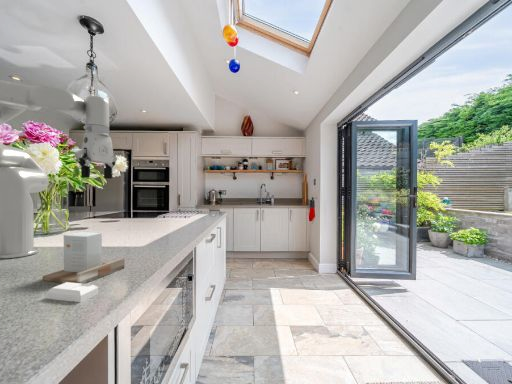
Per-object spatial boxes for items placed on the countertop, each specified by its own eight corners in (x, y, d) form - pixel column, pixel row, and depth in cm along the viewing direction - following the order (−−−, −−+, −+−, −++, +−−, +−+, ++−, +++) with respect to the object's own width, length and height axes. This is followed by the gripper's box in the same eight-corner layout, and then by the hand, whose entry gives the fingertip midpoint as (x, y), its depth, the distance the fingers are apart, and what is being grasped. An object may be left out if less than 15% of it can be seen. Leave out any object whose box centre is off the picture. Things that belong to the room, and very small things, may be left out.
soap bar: (65, 291, 64) (65, 280, 64) (98, 294, 62) (98, 283, 62) (46, 300, 59) (46, 288, 59) (80, 304, 58) (80, 292, 58)
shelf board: (42, 279, 70) (42, 268, 70) (91, 264, 85) (91, 254, 85) (80, 285, 67) (80, 274, 67) (124, 268, 81) (125, 258, 81)
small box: (102, 268, 78) (102, 232, 78) (86, 274, 73) (86, 236, 72) (80, 265, 80) (80, 231, 80) (63, 271, 74) (63, 234, 74)
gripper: (84, 125, 87) (84, 177, 87) (123, 135, 104) (123, 178, 104) (67, 126, 89) (67, 177, 89) (108, 136, 106) (108, 178, 106)
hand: (97, 177), depth 97 cm, fingers open, 9 cm apart
